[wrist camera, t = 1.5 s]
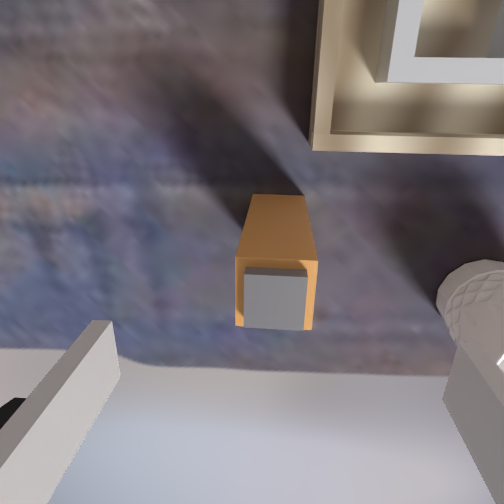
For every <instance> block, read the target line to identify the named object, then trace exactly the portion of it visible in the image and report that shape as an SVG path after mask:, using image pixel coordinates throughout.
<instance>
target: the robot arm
mask: <svg viewBox="0 0 504 504" xmlns="http://www.w3.org/2000/svg"><path fill="white" fill-rule="evenodd" d="M120 376H121V375H120V368H119V363H118V356H117V350H116V344H115V337H114V331H113V325H112V321H105V320H92V321H91V323H90V324H89V325H88V326H87V327H86V329H85V330H84V331H83V332H82V333H81V335H80V336H79V337H78V338H77V339H76V340H75V342H74V343H73V344H72V345H71V346H70V348H69V349H68V350H67V351H66V352H65V353H64V355H63V356H62V357H61V359H60V360H59V361H58V362H57V363H56V364H55V365H54V367H53V368H52V369H51V370H50V371H49V373H48V374H47V375H46V376H45V377H44V378H43V380H42V381H41V382H40V383H39V384H38V386H37V387H36V388H35V389H34V390H33V391H32V393H31V394H30V395H29V396H28V397H27V398H13V399H12V400H10V401H9V402H8V403H6V404H5V405H3V406H2V407H1V408H0V504H47V503H48V501H49V499H50V498H51V496H52V494H53V492H54V491H55V489H56V487H57V485H58V484H59V482H60V480H61V479H62V477H63V475H64V473H65V472H66V470H67V468H68V467H69V465H70V463H71V461H72V460H73V458H74V456H75V454H76V452H77V451H78V449H79V447H80V446H81V444H82V442H83V441H84V439H85V437H86V435H87V434H88V432H89V430H90V428H91V427H92V425H93V423H94V421H95V420H96V418H97V416H98V415H99V413H100V411H101V409H102V408H103V406H104V404H105V402H106V400H107V399H108V397H109V396H110V394H111V392H112V390H113V389H114V387H115V385H116V383H117V382H118V380H119V378H120ZM443 401H444V403H445V405H446V407H447V409H448V411H449V413H450V415H451V417H452V419H453V421H454V423H455V425H456V427H457V429H458V431H459V433H460V435H461V436H462V438H463V440H464V442H465V444H466V446H467V448H468V450H469V452H470V454H471V456H472V458H473V460H474V462H475V464H476V466H477V468H478V470H479V472H480V474H481V475H482V477H483V479H484V481H485V483H486V485H487V487H488V489H489V491H490V493H491V495H492V497H493V499H494V501H495V503H496V504H504V373H503V372H502V370H501V369H500V368H499V366H498V365H497V364H496V363H495V361H494V360H493V359H492V357H491V356H490V355H489V354H488V352H487V351H486V350H485V348H484V347H483V346H482V345H481V344H480V343H463V342H459V344H458V347H457V351H456V354H455V358H454V361H453V364H452V368H451V371H450V375H449V378H448V382H447V385H446V388H445V392H444V395H443Z"/></svg>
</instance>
